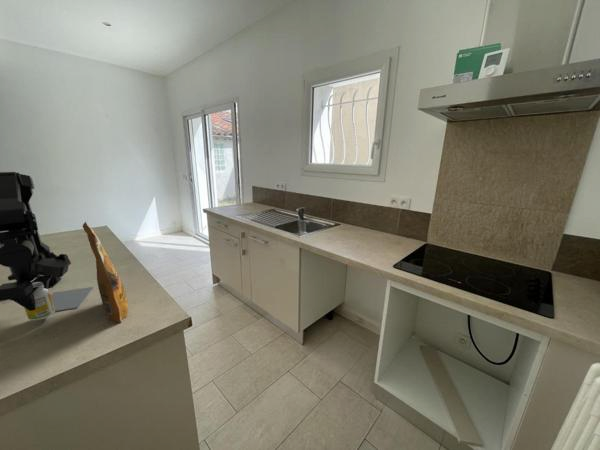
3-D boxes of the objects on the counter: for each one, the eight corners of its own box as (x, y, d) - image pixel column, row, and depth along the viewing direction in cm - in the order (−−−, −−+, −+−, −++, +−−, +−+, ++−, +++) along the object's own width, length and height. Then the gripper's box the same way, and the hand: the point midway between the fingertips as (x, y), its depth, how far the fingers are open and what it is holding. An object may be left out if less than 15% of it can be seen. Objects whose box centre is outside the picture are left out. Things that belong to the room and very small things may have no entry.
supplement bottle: (41, 309, 72) (31, 280, 70) (60, 309, 73) (51, 280, 70) (22, 321, 67) (11, 290, 65) (43, 320, 68) (33, 290, 65)
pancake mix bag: (101, 332, 66) (76, 235, 59) (101, 299, 81) (82, 218, 73) (130, 322, 70) (111, 230, 63) (126, 293, 85) (110, 215, 77)
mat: (30, 316, 72) (30, 315, 72) (53, 293, 84) (53, 292, 84) (77, 308, 76) (77, 307, 76) (93, 287, 88) (92, 286, 88)
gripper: (41, 264, 59) (58, 317, 64) (75, 239, 76) (87, 283, 80) (-23, 271, 55) (0, 328, 60) (28, 243, 72) (43, 289, 76)
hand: (38, 304), depth 69 cm, fingers closed on supplement bottle, 5 cm apart
